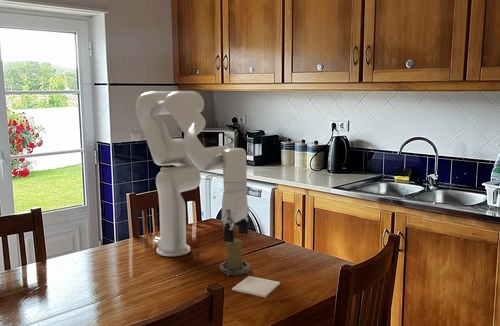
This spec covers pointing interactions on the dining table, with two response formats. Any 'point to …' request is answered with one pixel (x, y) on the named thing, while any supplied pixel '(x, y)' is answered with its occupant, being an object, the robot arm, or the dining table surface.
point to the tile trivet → (256, 286)
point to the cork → (234, 255)
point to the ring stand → (229, 271)
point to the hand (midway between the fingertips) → (236, 237)
